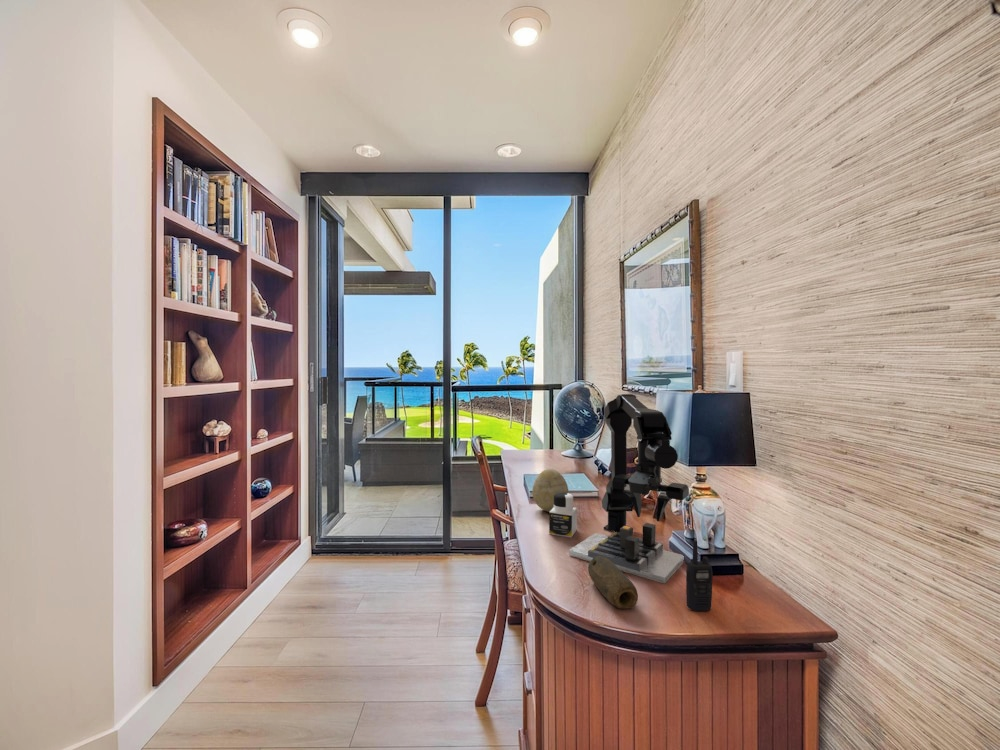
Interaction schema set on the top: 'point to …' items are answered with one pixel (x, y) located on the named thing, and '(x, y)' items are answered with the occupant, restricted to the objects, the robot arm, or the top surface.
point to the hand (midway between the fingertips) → (648, 518)
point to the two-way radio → (698, 582)
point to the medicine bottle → (563, 516)
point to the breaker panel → (649, 571)
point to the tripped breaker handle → (625, 534)
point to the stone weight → (612, 583)
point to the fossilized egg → (548, 488)
